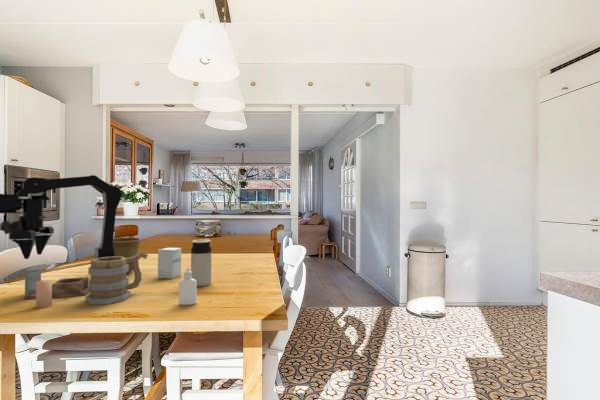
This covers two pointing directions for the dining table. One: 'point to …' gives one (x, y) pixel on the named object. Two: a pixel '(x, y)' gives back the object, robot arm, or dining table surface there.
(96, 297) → the tankard
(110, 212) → the robot arm
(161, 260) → the supplement box
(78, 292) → the socket block
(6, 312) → the dining table surface
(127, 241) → the plant pot
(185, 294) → the eye dropper bottle
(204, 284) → the travel mug
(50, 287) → the peg
